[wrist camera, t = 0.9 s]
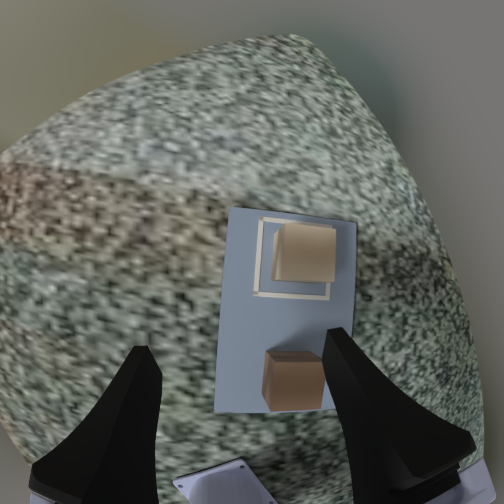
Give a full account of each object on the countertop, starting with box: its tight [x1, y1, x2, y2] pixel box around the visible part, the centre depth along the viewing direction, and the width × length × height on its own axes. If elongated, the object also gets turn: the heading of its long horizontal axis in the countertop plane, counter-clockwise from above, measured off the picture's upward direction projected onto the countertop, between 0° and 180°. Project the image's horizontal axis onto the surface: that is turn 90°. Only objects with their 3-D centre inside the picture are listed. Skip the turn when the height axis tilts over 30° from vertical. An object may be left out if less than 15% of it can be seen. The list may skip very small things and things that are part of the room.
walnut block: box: [261, 351, 325, 412], centre depth 20 cm, size 4×4×4 cm
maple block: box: [271, 223, 336, 284], centre depth 22 cm, size 4×4×4 cm
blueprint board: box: [214, 207, 356, 413], centre depth 23 cm, size 18×12×1 cm, turn 176°
